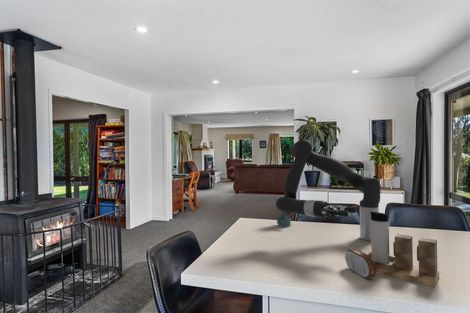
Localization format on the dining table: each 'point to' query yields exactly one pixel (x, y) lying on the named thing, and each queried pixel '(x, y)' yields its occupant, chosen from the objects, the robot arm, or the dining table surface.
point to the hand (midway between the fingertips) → (352, 212)
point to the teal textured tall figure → (284, 220)
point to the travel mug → (380, 237)
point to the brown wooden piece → (403, 261)
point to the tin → (360, 263)
